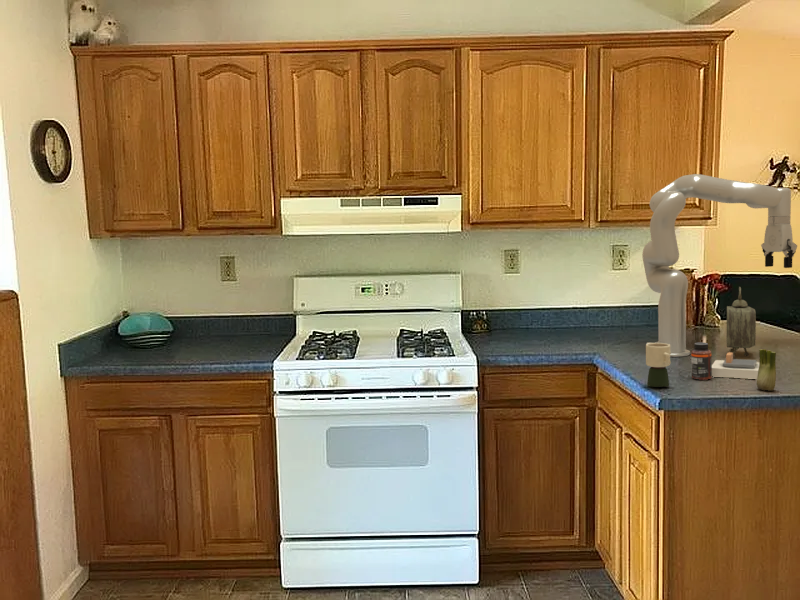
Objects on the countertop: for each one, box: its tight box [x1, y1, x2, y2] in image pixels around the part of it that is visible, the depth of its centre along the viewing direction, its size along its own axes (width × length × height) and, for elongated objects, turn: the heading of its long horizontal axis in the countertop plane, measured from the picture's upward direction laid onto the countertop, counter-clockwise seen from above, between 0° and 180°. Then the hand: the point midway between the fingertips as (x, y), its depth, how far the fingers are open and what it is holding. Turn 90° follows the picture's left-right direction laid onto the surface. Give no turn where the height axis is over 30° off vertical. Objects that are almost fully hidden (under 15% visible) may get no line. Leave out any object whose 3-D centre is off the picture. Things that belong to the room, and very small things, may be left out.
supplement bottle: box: [690, 342, 713, 381], centre depth 235 cm, size 6×6×11 cm
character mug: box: [645, 342, 672, 388], centre depth 226 cm, size 11×7×13 cm, turn 15°
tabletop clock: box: [726, 286, 757, 359], centre depth 267 cm, size 14×9×25 cm, turn 158°
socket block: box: [712, 359, 759, 379], centre depth 239 cm, size 16×14×3 cm
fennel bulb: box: [756, 348, 777, 391], centre depth 217 cm, size 6×5×12 cm
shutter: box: [723, 351, 758, 368], centre depth 238 cm, size 9×9×3 cm
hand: (778, 267), depth 280 cm, fingers open, 9 cm apart
